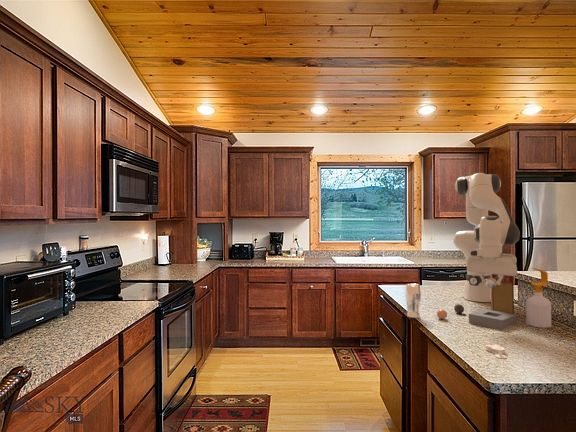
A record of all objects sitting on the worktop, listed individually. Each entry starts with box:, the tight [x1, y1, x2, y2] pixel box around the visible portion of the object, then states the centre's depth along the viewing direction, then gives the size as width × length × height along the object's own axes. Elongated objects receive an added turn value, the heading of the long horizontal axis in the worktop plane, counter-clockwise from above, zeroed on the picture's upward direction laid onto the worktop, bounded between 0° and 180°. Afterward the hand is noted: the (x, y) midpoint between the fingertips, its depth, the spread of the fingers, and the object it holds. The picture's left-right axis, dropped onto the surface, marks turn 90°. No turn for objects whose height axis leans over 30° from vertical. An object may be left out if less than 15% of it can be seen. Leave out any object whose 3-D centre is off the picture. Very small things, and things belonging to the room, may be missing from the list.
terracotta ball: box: [436, 308, 448, 320], centre depth 176 cm, size 4×4×4 cm
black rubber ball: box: [453, 303, 465, 314], centre depth 186 cm, size 4×4×4 cm
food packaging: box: [490, 274, 515, 314], centre depth 182 cm, size 13×9×25 cm
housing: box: [468, 308, 517, 331], centre depth 168 cm, size 14×14×4 cm
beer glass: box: [405, 283, 422, 319], centre depth 181 cm, size 7×7×15 cm
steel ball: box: [485, 278, 496, 288], centre depth 168 cm, size 4×4×4 cm
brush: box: [484, 344, 507, 360], centre depth 132 cm, size 9×9×2 cm
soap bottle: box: [525, 267, 552, 329], centre depth 165 cm, size 9×9×25 cm
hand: (491, 284), depth 168 cm, fingers closed on steel ball, 4 cm apart
